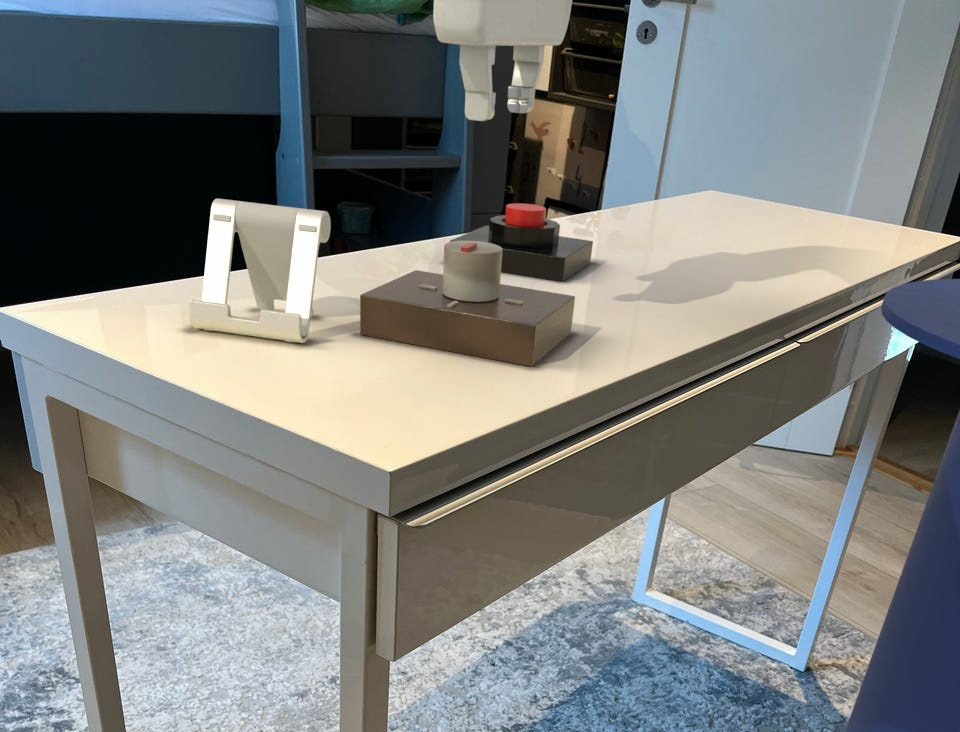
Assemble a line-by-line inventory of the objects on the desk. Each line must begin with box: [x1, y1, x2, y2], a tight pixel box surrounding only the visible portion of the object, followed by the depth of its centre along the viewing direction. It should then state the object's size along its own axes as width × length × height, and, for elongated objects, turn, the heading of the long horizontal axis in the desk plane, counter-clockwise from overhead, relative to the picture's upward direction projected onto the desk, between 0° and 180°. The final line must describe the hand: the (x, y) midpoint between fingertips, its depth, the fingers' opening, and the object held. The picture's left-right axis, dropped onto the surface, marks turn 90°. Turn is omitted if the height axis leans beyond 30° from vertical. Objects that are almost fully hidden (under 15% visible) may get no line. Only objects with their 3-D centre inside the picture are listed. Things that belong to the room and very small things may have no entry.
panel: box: [359, 269, 576, 367], centre depth 75 cm, size 14×10×3 cm
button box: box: [449, 214, 594, 282], centre depth 97 cm, size 12×10×4 cm
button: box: [504, 202, 547, 226], centre depth 96 cm, size 4×4×2 cm
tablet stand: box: [188, 198, 332, 344], centre depth 71 cm, size 9×8×8 cm
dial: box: [442, 241, 503, 302], centre depth 73 cm, size 4×4×4 cm
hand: (500, 116), depth 73 cm, fingers open, 8 cm apart
